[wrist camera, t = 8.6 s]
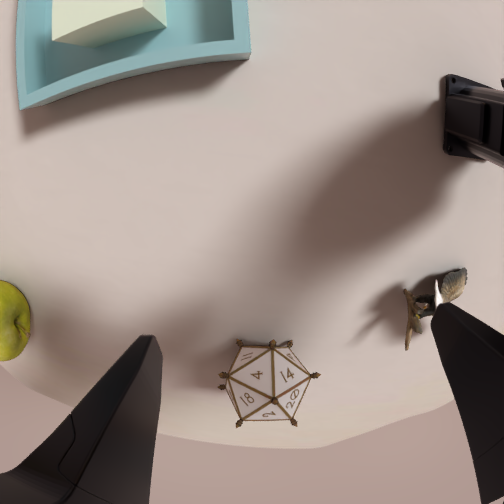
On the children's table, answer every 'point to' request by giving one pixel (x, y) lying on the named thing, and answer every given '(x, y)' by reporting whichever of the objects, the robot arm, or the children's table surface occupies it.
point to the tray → (124, 48)
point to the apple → (13, 321)
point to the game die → (266, 383)
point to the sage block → (104, 20)
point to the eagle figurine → (433, 301)
